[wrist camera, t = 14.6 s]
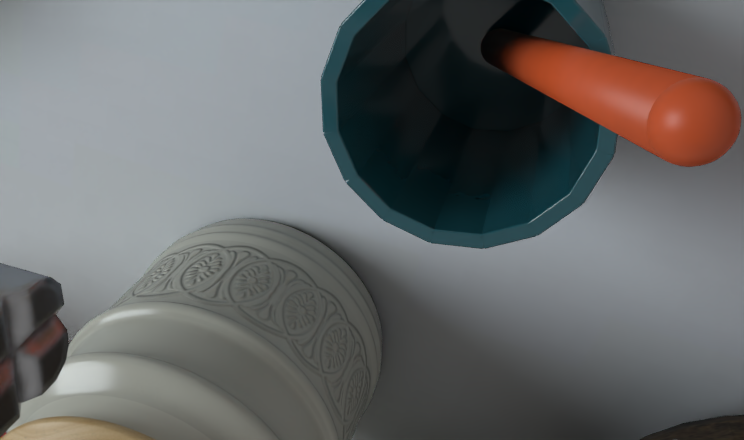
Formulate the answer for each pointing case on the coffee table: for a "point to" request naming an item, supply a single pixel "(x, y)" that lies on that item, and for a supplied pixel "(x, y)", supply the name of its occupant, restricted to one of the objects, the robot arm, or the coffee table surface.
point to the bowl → (704, 430)
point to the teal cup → (460, 119)
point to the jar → (221, 347)
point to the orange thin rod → (625, 95)
